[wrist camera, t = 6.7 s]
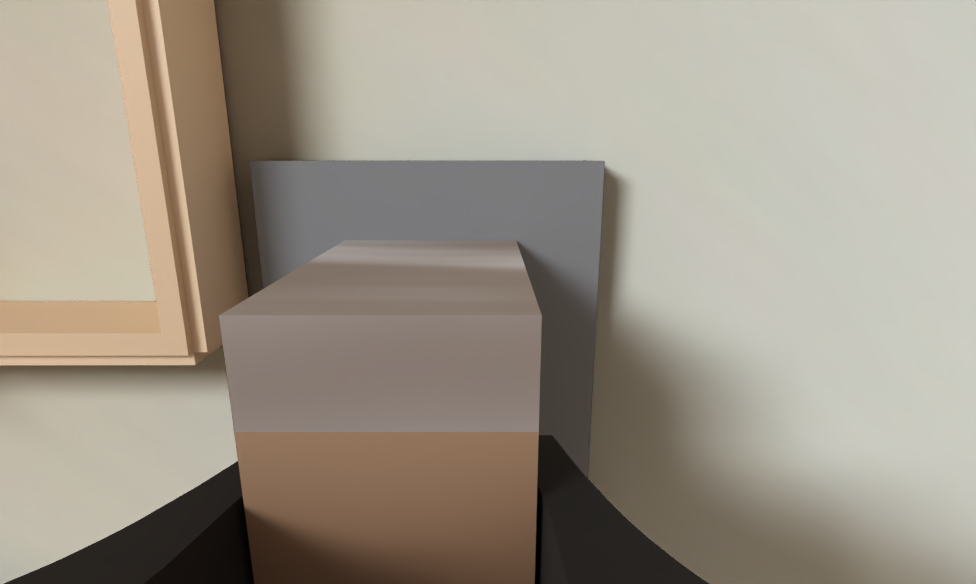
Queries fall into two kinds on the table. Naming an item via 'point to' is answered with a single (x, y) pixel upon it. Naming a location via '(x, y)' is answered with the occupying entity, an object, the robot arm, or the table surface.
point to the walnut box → (390, 415)
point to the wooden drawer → (158, 205)
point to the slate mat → (461, 216)
